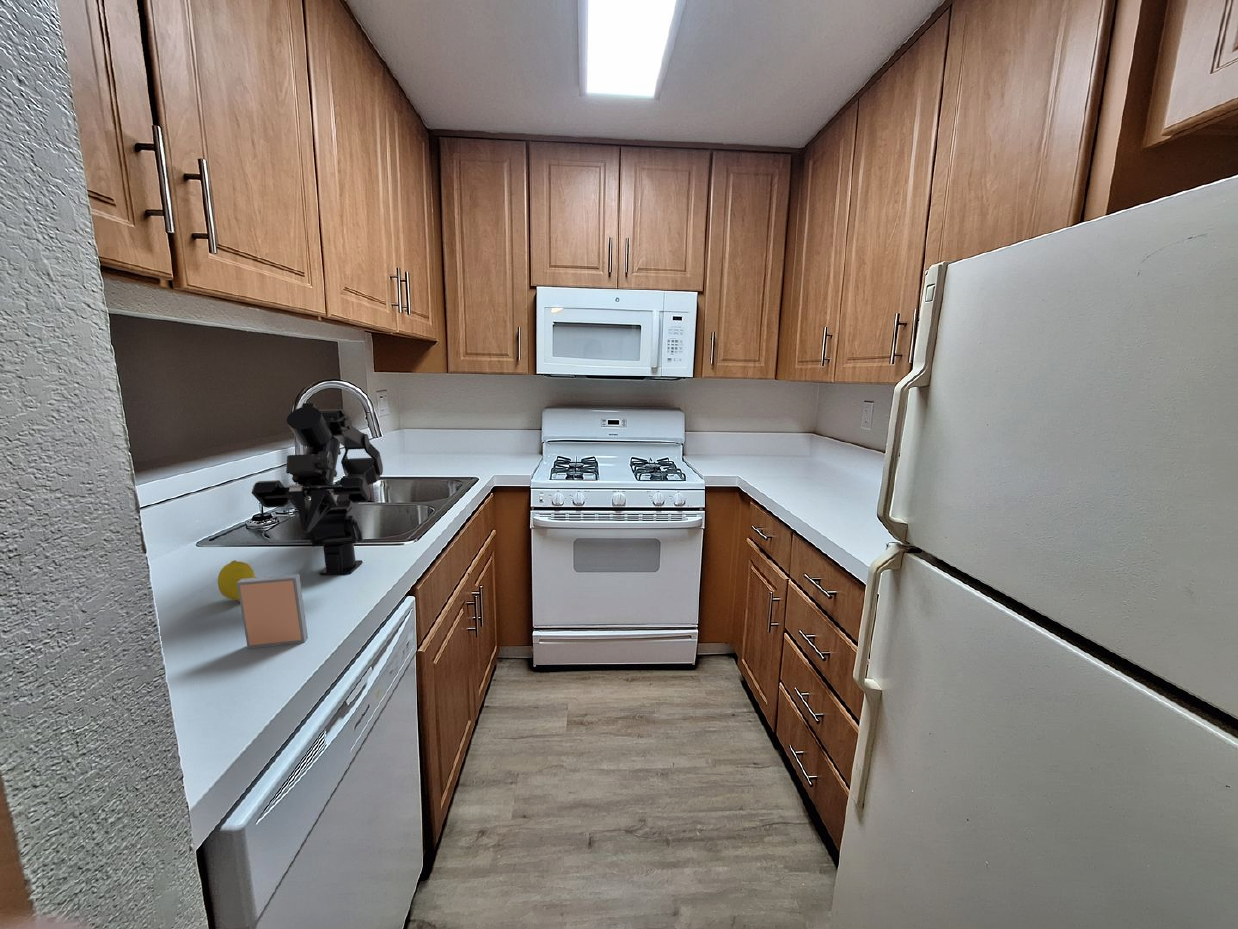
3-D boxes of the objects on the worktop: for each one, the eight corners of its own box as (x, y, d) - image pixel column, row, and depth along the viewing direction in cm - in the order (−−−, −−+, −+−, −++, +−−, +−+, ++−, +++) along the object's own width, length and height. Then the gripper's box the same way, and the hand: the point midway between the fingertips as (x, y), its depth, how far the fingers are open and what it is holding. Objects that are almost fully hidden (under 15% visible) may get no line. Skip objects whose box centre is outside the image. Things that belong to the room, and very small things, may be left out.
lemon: (253, 591, 97) (247, 553, 95) (262, 599, 94) (256, 559, 92) (217, 602, 93) (210, 561, 91) (226, 610, 89) (218, 569, 88)
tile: (252, 644, 78) (241, 578, 76) (308, 638, 80) (299, 574, 78) (247, 649, 77) (236, 583, 75) (304, 643, 79) (295, 578, 77)
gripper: (248, 438, 90) (224, 513, 82) (359, 434, 94) (348, 506, 86) (274, 472, 99) (255, 543, 91) (374, 467, 103) (365, 535, 95)
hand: (305, 531), depth 90 cm, fingers closed
